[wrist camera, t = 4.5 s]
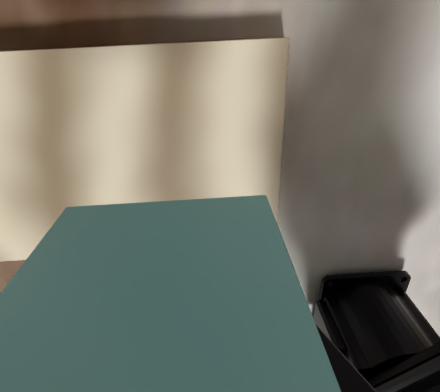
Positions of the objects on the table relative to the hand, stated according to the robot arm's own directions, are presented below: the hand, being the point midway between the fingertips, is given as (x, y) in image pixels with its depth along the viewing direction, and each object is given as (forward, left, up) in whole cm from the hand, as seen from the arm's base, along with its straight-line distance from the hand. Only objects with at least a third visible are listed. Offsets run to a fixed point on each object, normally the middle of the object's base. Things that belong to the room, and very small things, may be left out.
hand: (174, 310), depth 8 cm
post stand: (+7, 0, -11) cm, 13 cm away
